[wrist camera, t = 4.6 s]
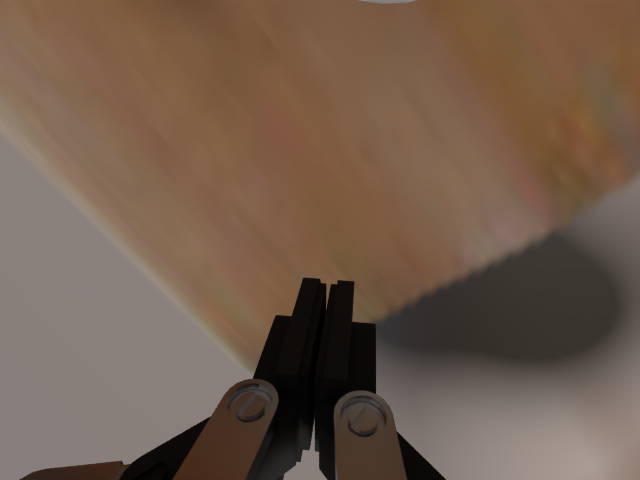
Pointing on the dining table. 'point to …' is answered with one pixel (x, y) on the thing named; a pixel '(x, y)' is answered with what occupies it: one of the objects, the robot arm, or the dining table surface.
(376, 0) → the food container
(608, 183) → the dining table surface
